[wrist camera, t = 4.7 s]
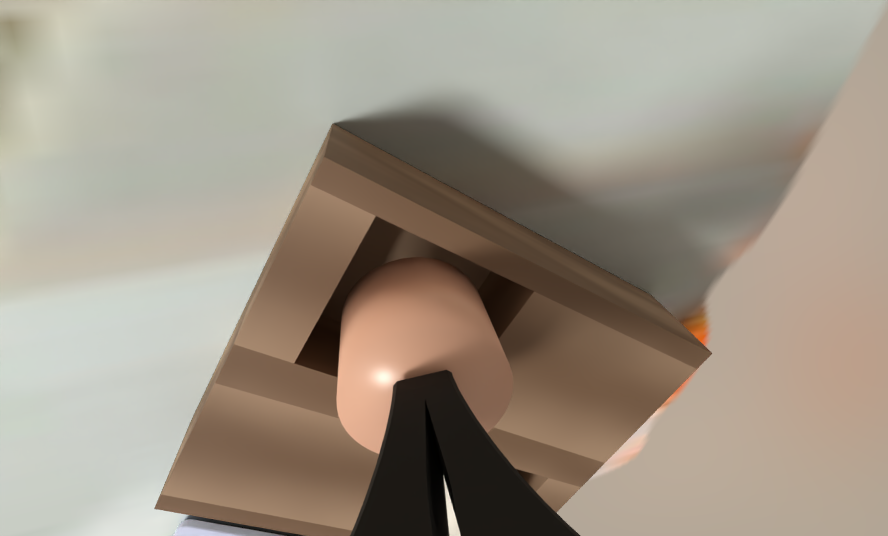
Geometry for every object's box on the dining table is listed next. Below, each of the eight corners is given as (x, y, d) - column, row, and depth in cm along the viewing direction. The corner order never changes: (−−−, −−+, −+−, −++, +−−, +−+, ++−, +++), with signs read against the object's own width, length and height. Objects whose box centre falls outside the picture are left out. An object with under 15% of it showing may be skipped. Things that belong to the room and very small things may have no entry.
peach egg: (437, 389, 16) (455, 474, 13) (317, 348, 14) (306, 435, 11) (508, 291, 14) (547, 362, 11) (383, 233, 13) (390, 298, 10)
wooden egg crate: (480, 492, 25) (499, 569, 21) (191, 420, 19) (154, 508, 16) (651, 295, 20) (712, 353, 17) (332, 123, 14) (324, 156, 11)
